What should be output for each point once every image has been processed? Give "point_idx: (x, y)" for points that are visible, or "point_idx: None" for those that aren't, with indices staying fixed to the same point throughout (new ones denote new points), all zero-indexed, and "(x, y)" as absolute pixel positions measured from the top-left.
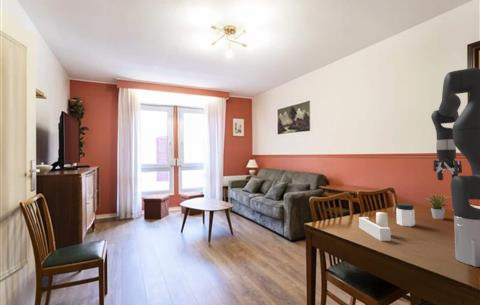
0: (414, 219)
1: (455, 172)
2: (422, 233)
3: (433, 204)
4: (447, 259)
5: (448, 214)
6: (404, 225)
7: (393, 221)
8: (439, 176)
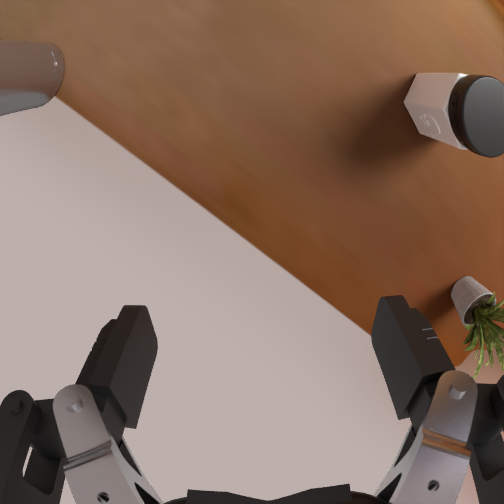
0: (431, 135)
1: (22, 398)
2: (305, 74)
3: (495, 310)
4: (50, 22)
5: None
6: (414, 80)
7: None
8: (398, 340)
